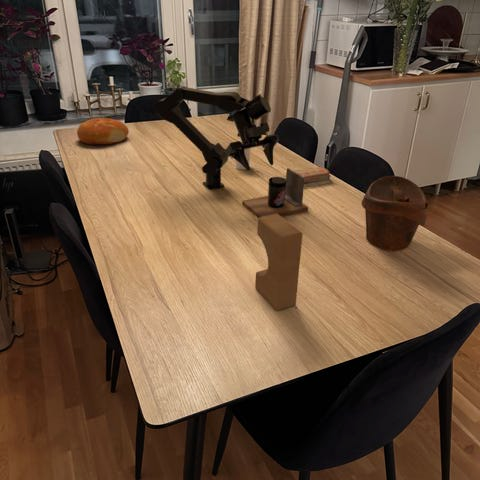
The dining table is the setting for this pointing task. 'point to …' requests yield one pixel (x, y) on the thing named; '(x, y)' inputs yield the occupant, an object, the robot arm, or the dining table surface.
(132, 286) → the dining table surface
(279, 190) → the supplement container
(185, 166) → the dining table surface
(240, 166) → the white cylindrical container
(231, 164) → the dining table surface
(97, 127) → the bread
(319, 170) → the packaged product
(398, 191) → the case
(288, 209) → the shelf board
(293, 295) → the decorative block
